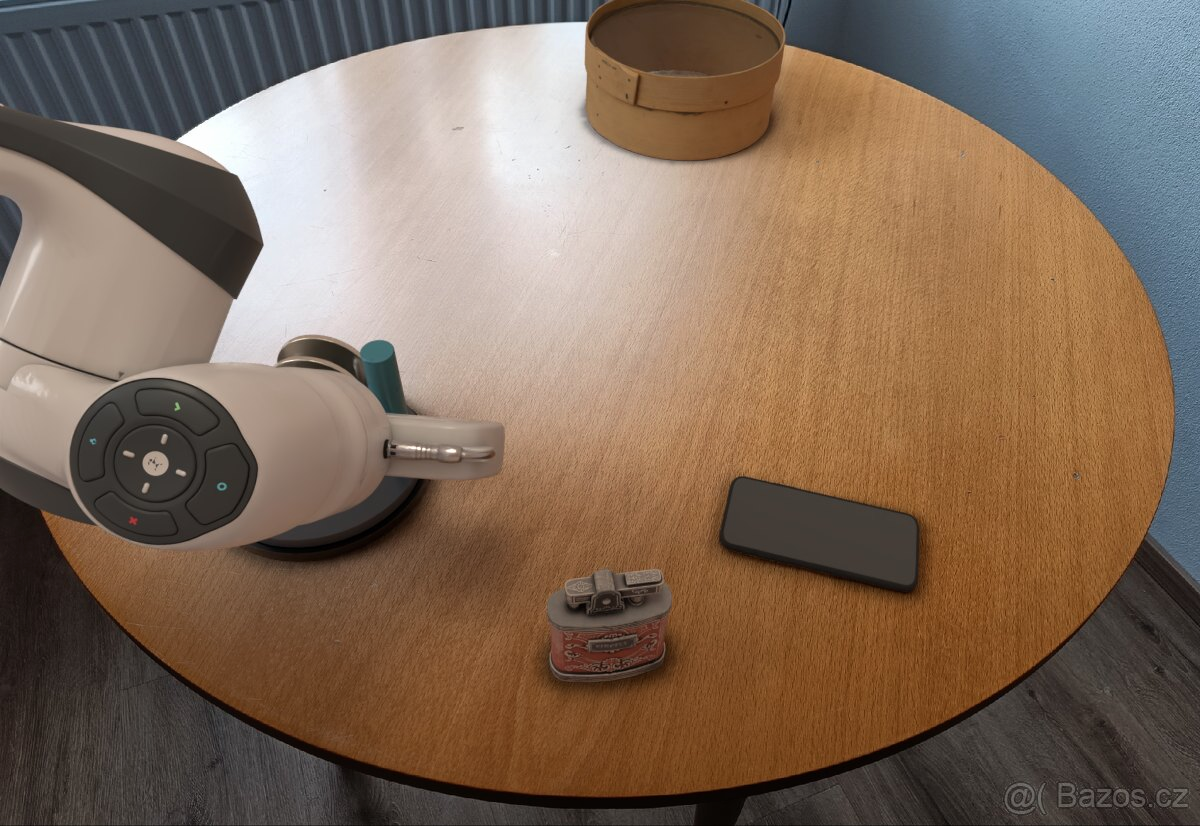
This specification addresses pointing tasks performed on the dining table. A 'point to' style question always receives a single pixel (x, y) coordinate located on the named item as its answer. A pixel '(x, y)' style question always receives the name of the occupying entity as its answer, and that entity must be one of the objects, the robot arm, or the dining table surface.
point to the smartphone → (821, 533)
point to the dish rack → (384, 381)
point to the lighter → (608, 625)
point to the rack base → (346, 544)
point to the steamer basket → (682, 104)
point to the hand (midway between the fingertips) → (384, 434)
